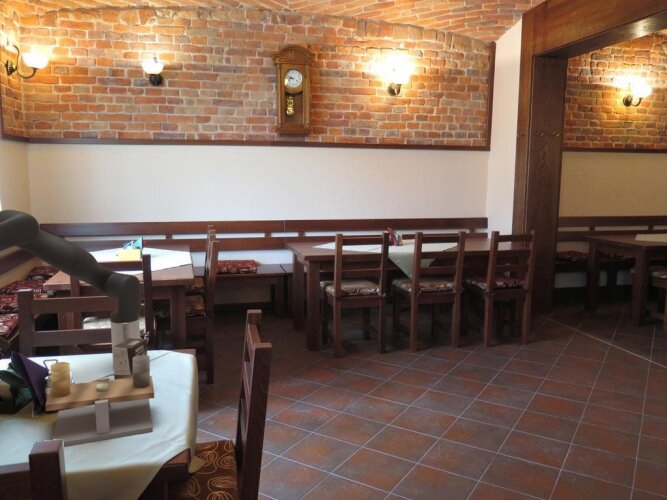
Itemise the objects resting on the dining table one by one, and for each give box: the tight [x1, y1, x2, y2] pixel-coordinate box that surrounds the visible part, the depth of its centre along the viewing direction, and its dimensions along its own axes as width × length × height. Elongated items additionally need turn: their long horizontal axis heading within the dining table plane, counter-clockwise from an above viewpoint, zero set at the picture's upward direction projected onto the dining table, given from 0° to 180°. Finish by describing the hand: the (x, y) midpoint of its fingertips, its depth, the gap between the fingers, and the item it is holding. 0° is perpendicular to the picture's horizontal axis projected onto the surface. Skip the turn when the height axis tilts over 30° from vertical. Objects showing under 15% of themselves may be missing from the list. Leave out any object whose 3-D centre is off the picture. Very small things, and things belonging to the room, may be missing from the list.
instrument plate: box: [45, 354, 155, 412], centre depth 142 cm, size 26×13×10 cm, turn 112°
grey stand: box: [51, 376, 153, 447], centre depth 143 cm, size 24×19×10 cm
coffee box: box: [112, 338, 148, 380], centre depth 162 cm, size 9×6×16 cm
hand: (4, 353), depth 132 cm, fingers open, 8 cm apart
